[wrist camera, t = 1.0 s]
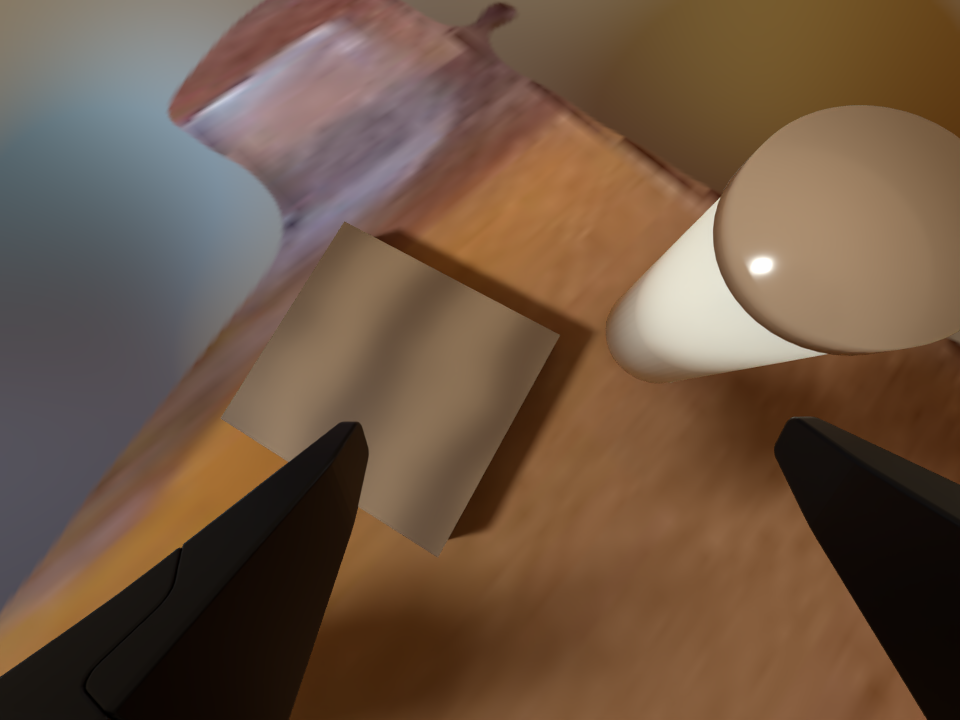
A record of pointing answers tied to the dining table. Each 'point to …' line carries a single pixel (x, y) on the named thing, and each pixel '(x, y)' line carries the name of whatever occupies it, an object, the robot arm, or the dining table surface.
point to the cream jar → (807, 253)
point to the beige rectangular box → (395, 380)
